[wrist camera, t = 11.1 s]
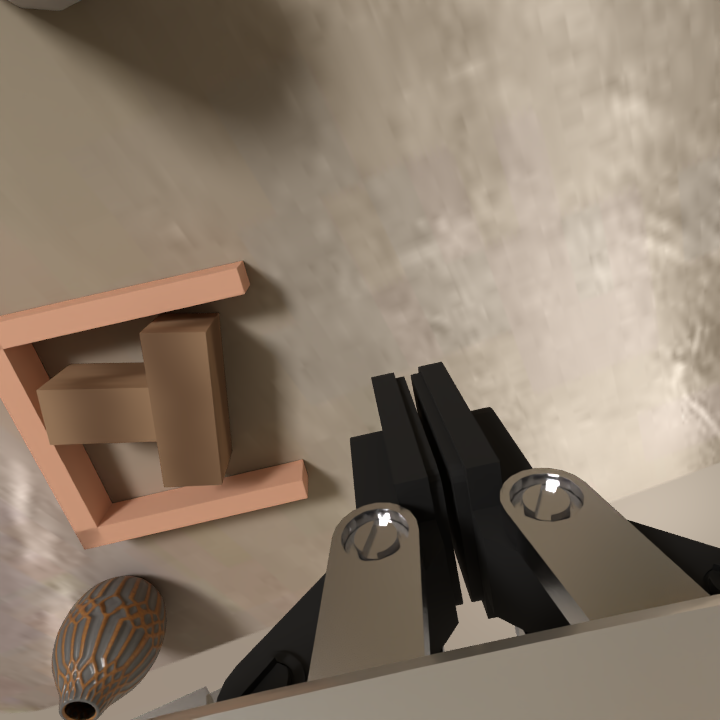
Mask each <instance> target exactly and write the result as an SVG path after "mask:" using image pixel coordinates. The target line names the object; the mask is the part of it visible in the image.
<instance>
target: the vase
mask: <svg viewBox="0 0 720 720" xmlns="http://www.w3.org/2000/svg"><path fill="white" fill-rule="evenodd" d="M165 631H166V608H165V603H164V600H163V598H162V597H161V595H160V593H159V592H158V590H157V589H156V588H155V587H154V586H153V585H152V584H151V583H149V582H148V581H146V580H144V579H142V578H139V577H135V576H120V577H115V578H111V579H108V580H105V581H103V582H101V583H99V584H97V585H95V586H94V587H93V588H91V589H90V590H89V591H87V592H86V593H85V594H84V595H83V596H82V597H81V598H80V599H79V600H78V601H77V602H76V603H75V605H74V606H73V607H72V609H71V610H70V611H69V613H68V615H67V616H66V618H65V620H64V621H63V623H62V625H61V627H60V629H59V632H58V634H57V637H56V640H55V644H54V649H53V654H52V673H53V677H54V681H55V684H56V688H57V691H58V694H59V714H60V716H61V717H62V718H63V719H64V720H96V719H98V718H99V716H100V715H101V714H102V713H103V712H104V711H105V710H106V709H107V708H108V707H109V706H110V705H111V704H113V703H114V702H116V701H117V700H119V699H120V698H122V697H123V696H124V695H126V694H127V693H129V692H130V691H131V690H132V689H134V688H135V687H136V686H137V685H138V684H139V683H140V682H141V681H142V679H143V678H144V677H145V676H146V674H147V673H148V671H149V670H150V668H151V667H152V665H153V664H154V662H155V660H156V658H157V656H158V654H159V652H160V649H161V646H162V643H163V639H164V635H165Z"/></svg>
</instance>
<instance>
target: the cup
mask: <svg viewBox="0 0 720 720" xmlns="http://www.w3.org/2000/svg"><path fill="white" fill-rule="evenodd" d="M7 1H9V2H11V3H13V4H14V5H16V6H18V7H20V8H29V9H42V10H55V11H61V10H63V9H65V8H67V7H69V6H71V5H73V4H75V3H77V2H79V1H81V0H7Z"/></svg>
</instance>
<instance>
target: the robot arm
mask: <svg viewBox="0 0 720 720" xmlns="http://www.w3.org/2000/svg"><path fill="white" fill-rule="evenodd" d="M418 371H419V373H417V374H413V375H411V380H412V386H413V391H414V396H415V401H416V407H417V410H416V408H415V405H414V402H413V399H412V397H411V394H410V391H409V389H408V386H407V383H406V380H405V378H404V377H399V378H395V375H394V373H389V374H385V375H380V376H376V377H371V379H372V384H373V388H374V393H375V398H376V402H377V407H378V412H379V416H380V421H381V426H382V430H383V431H379V432H374V433H369V434H365V435H360V436H356V437H351V438H350V446H351V457H352V468H353V478H354V489H355V500H356V510H353V511H352V512H351V513H349V514H348V515H347V516H345V517H344V518H343V519H342V520H341V521H340V523H339V524H338V525H337V527H336V528H335V531H334V534H333V537H332V541H331V547H330V553H329V559H328V565H327V571H326V573H325V574H324V575H323V576H322V577H321V579H320V580H319V581H318V582H317V583H316V584H315V585H314V586H313V587H312V588H311V589H310V590H309V591H308V592H307V593H306V594H305V595H304V596H303V597H302V598H301V599H300V600H299V601H298V602H297V604H296V605H295V606H294V607H293V608H292V609H291V610H290V611H289V612H288V613H287V614H286V615H285V616H284V617H283V618H282V619H281V620H280V621H279V622H278V623H277V624H276V625H275V626H274V627H273V629H272V630H271V631H270V632H269V633H268V634H267V635H266V636H265V637H264V638H263V639H262V640H261V641H260V642H259V643H258V644H257V645H256V646H255V647H254V648H253V649H252V651H251V652H250V653H249V654H248V655H247V656H246V657H245V658H244V659H243V660H242V661H241V662H240V663H239V664H238V665H237V666H236V667H235V669H234V670H233V671H232V673H231V674H230V675H229V676H228V678H227V679H226V680H225V682H224V684H223V686H222V688H221V689H219V690H217V691H214V692H212V693H209V691H208V689H207V687H204V688H201V689H199V690H197V691H195V692H192V693H190V694H188V695H186V696H184V697H181V698H179V699H177V700H174V701H172V702H170V703H168V704H166V705H163V706H161V707H159V708H157V709H154V710H152V711H150V712H148V713H145V714H143V715H141V716H139V717H137V718H134V719H132V720H720V548H717V547H714V546H710V545H707V544H704V543H701V542H698V541H694V540H690V539H688V538H685V537H681V536H678V535H675V534H672V533H668V532H665V531H662V530H658V529H655V528H652V527H649V526H645V525H642V524H639V523H636V522H633V521H629V520H626V519H625V518H624V517H623V516H622V515H621V514H620V513H619V512H618V511H617V510H615V509H614V508H613V507H612V506H611V505H610V504H609V503H608V502H607V501H606V500H604V499H603V498H602V497H601V496H600V495H599V494H598V493H597V492H596V491H594V490H593V489H592V488H591V487H590V486H589V485H588V484H587V483H586V482H584V481H583V480H581V479H580V478H578V477H577V476H575V475H573V474H571V473H568V472H565V471H563V470H557V469H552V468H532V467H531V465H530V464H529V462H528V461H527V459H526V458H525V456H524V455H523V453H522V452H521V450H520V449H519V448H518V446H517V445H516V443H515V442H514V440H513V439H512V437H511V436H510V434H509V433H508V431H507V430H506V428H505V427H504V425H503V424H502V422H501V421H500V419H499V418H498V416H497V415H496V413H495V412H494V411H493V409H492V408H491V407H487V408H482V409H478V410H473V411H470V409H469V408H468V406H467V404H466V403H465V401H464V399H463V397H462V396H461V394H460V392H459V390H458V389H457V387H456V385H455V384H454V382H453V380H452V378H451V377H450V375H449V373H448V372H447V370H446V368H445V366H444V365H443V363H442V362H438V363H434V364H429V365H425V366H420V367H418ZM417 412H418V413H417ZM454 551H455V554H456V557H457V560H458V563H459V566H460V569H461V572H462V575H463V578H464V581H465V584H466V587H467V590H468V593H469V596H470V599H471V601H472V602H475V601H480V600H482V602H483V605H484V608H485V610H486V613H487V616H488V619H490V618H495V617H499V618H501V619H503V620H505V621H507V622H509V623H511V624H512V625H515V630H516V634H517V636H516V637H512V638H507V639H503V640H498V641H493V642H489V643H484V644H479V645H474V646H470V647H465V648H460V649H456V650H451V651H446V652H445V651H444V644H445V643H446V642H447V640H448V638H449V637H450V635H451V634H452V632H453V631H454V629H455V628H456V626H457V625H458V623H459V622H458V617H457V611H456V605H461V604H463V599H462V593H461V589H460V582H459V577H458V571H457V565H456V560H455V554H454Z"/></svg>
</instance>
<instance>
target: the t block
mask: <svg viewBox="0 0 720 720" xmlns="http://www.w3.org/2000/svg"><path fill="white" fill-rule="evenodd" d="M139 334H140V341H141V347H142V353H143V359H144V362H143V363H91V364H70V365H68V366H67V367H66V368H65V369H63V370H62V371H61V372H59V373H58V374H57V375H55V376H54V377H53V378H52V379H50V380H49V381H48V382H46V383H45V384H44V385H42V386H41V387H40V388H39V389H37V390H36V392H37V396H38V400H39V404H40V407H41V411H42V415H43V419H44V423H45V427H46V431H47V435H48V439H49V443H50V445H68V444H97V443H127V442H157V446H158V453H159V459H160V465H161V471H162V477H163V484H164V487H184V486H207V485H222V483H223V480H224V476H225V473H226V470H227V466H228V463H229V460H230V456H231V453H232V443H231V432H230V422H229V412H228V401H227V391H226V380H225V370H224V359H223V349H222V339H221V328H220V318H219V313H161V314H160V315H159V316H158V317H157V318H155V319H154V320H153V321H152V322H151V323H150V324H149V325H148V326H147V327H145V328H144V329H143V330H142V331H141V332H140V333H139Z"/></svg>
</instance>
